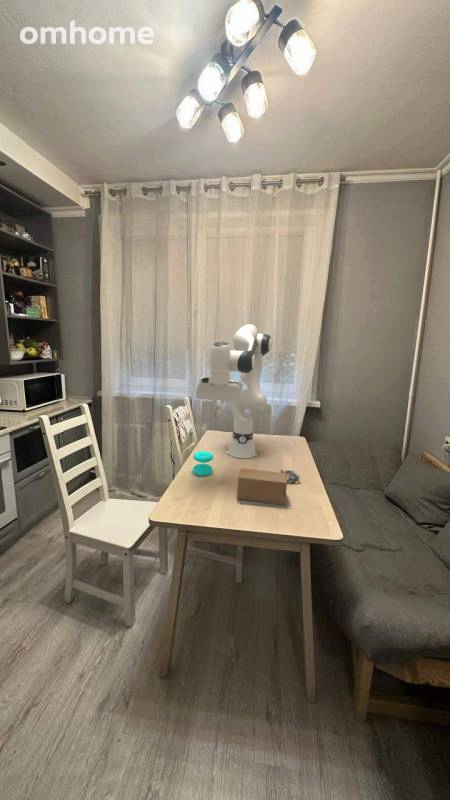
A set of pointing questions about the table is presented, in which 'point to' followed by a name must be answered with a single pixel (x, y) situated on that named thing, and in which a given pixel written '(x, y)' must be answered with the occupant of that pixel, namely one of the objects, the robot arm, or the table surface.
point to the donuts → (203, 458)
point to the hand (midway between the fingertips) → (217, 409)
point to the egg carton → (291, 476)
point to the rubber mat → (265, 503)
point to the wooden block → (262, 486)
